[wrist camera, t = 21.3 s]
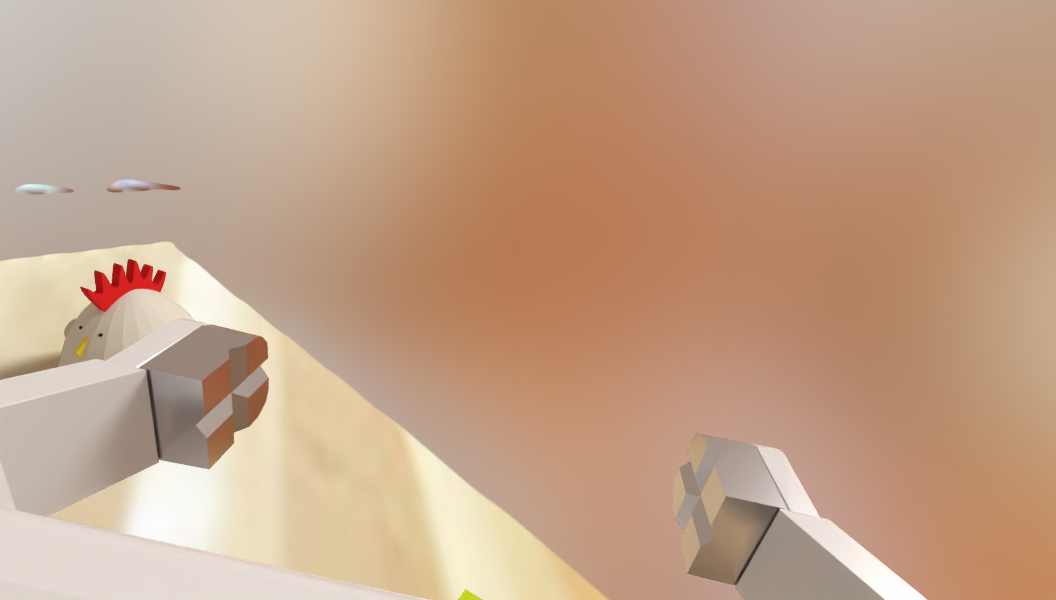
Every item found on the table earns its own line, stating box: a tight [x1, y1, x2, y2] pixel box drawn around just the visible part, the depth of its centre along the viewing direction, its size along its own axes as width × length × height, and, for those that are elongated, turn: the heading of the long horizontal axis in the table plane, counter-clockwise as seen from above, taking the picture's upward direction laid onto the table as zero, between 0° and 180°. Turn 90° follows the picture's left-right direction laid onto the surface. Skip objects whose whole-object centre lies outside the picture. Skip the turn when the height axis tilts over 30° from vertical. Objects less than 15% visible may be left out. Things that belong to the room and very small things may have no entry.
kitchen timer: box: [58, 259, 194, 367], centre depth 55 cm, size 14×14×15 cm
